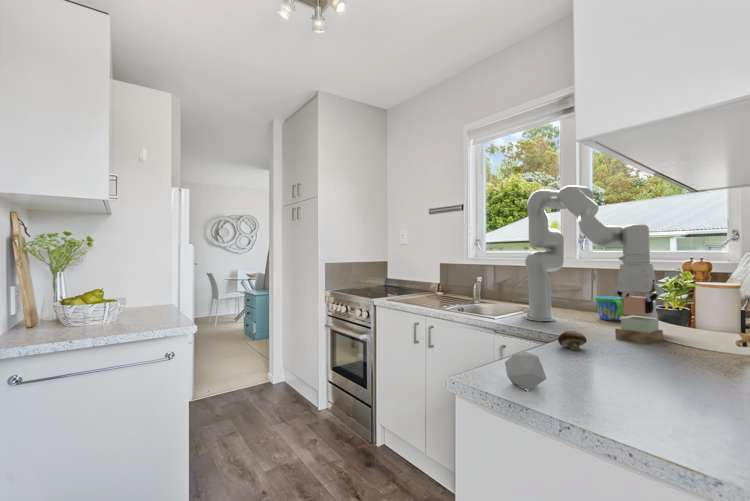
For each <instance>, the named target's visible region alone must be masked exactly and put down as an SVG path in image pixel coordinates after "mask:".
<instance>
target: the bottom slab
mask: <svg viewBox="0 0 750 501" xmlns="http://www.w3.org/2000/svg"><path fill="white" fill-rule="evenodd" d="M614 330H615V331H614V332H615V333H614V334H615V340H620V341H627V342H633V343H638V344H644V345H648V346H649V345H652V344H656V343H659V342H662V341H663V342H664V333H663V332H664V330H662V329H659V330H657V331H654V332H651V333H644V332H637V331H630V330H623V329H621V327H616V328H615V329H614Z"/></svg>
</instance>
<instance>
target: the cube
mask: <svg viewBox="0 0 750 501" xmlns="http://www.w3.org/2000/svg"><path fill="white" fill-rule="evenodd" d="M645 301H647V300H646V298H645V296H639V295H638V296H637V295H635V296H634V295H630V296H628V297H623V302H622V307H623V311H624V313H623V315H627V316H631V315H633V316H642V317H644V316H649V315H652V313H646V312H645Z"/></svg>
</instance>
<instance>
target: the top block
mask: <svg viewBox="0 0 750 501" xmlns="http://www.w3.org/2000/svg"><path fill="white" fill-rule="evenodd" d="M620 323H621V324H620V326H621V329H623V330H630V331H637V332H644V333H651V332H654V331H657V330H660V328H659V318H658V317H657V318H650V317H641V316H634V315H627V316H623V317H620Z"/></svg>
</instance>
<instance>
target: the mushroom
mask: <svg viewBox="0 0 750 501" xmlns="http://www.w3.org/2000/svg"><path fill="white" fill-rule="evenodd" d="M587 340H588V339H587V337H586V336H585V335H584V334H583V333H580V332H577V331H574V330H566V331H564V332H562V333H561V334H560V335H559V336H558V338H557V341H558V343H559V345H560V346H561V347H564V348H569V349H570V350H573V351H580V350H581V348H580V346H583V345H585V344H586V343H587Z"/></svg>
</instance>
